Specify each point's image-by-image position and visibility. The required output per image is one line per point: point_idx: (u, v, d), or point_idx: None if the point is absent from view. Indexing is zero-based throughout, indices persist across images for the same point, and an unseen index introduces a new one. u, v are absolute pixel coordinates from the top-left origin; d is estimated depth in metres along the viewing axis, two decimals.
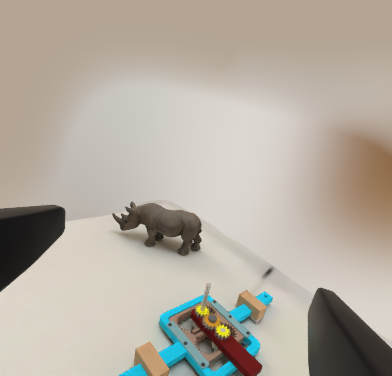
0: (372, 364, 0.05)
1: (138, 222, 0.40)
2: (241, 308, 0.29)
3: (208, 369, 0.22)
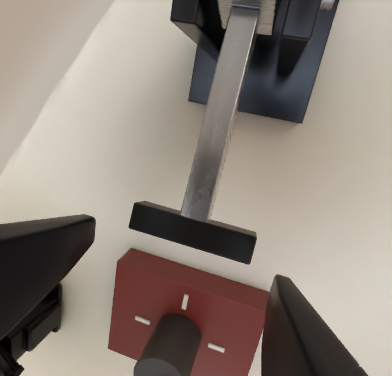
0: (302, 339, 0.05)
1: None
2: None
3: None
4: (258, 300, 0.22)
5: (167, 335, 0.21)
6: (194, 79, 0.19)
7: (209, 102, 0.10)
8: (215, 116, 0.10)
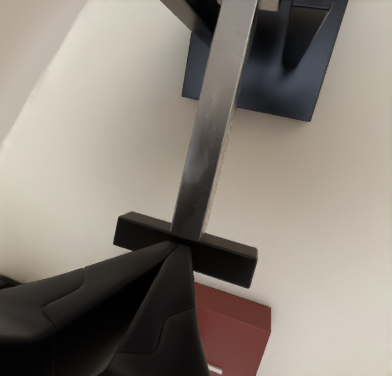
0: (153, 287, 0.06)
1: None
2: None
3: None
4: (259, 317, 0.20)
5: None
6: (188, 72, 0.17)
7: (201, 99, 0.09)
8: (208, 116, 0.09)
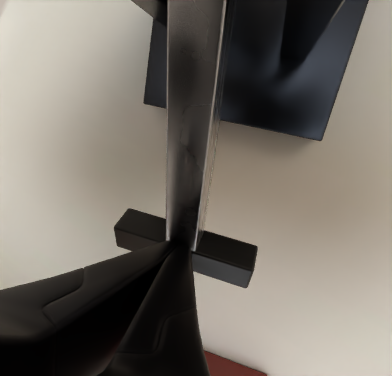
0: (153, 287, 0.06)
1: None
2: None
3: None
4: None
5: None
6: (151, 70, 0.12)
7: (168, 121, 0.06)
8: (181, 141, 0.07)
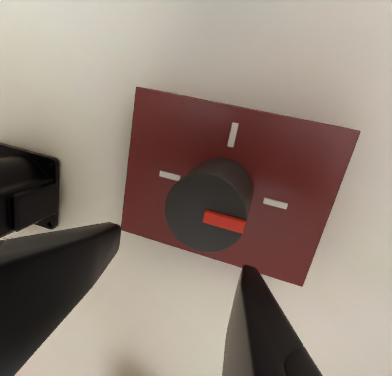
0: (251, 321, 0.05)
1: None
2: None
3: None
4: (339, 126, 0.15)
5: (212, 164, 0.14)
6: None
7: None
8: None
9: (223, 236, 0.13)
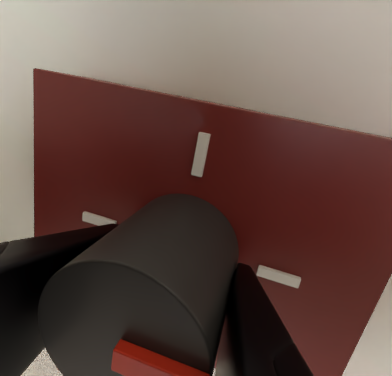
0: (242, 318, 0.06)
1: None
2: None
3: None
4: None
5: (152, 219, 0.07)
6: None
7: None
8: None
9: None
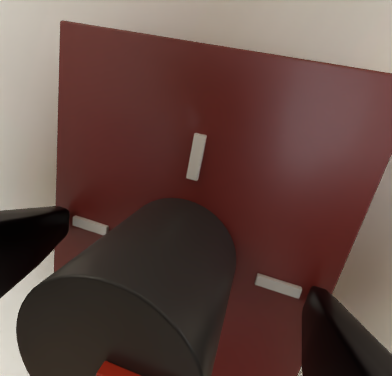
0: (362, 360, 0.05)
1: None
2: None
3: None
4: None
5: (143, 226, 0.07)
6: None
7: None
8: None
9: None
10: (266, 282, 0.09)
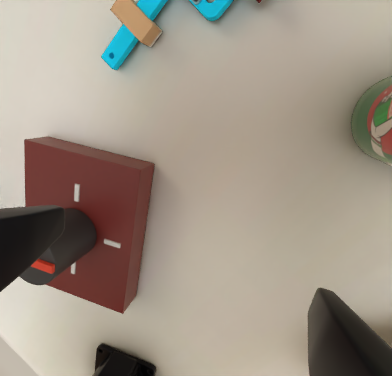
0: (372, 364, 0.05)
1: None
2: None
3: (204, 2, 0.17)
4: None
5: None
6: None
7: None
8: None
9: (44, 274, 0.18)
10: (107, 242, 0.22)
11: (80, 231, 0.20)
